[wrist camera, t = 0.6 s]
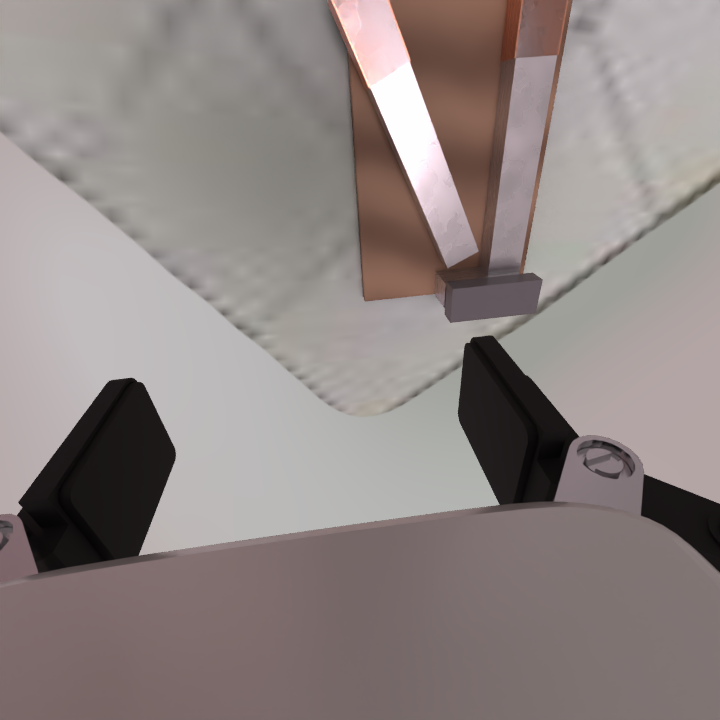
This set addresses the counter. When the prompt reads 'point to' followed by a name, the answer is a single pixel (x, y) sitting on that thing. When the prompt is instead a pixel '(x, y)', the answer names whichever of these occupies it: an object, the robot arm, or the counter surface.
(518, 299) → the tab
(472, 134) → the walnut board
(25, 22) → the counter surface
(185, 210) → the counter surface
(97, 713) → the robot arm
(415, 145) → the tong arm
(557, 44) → the tongs fixed
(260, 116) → the counter surface
